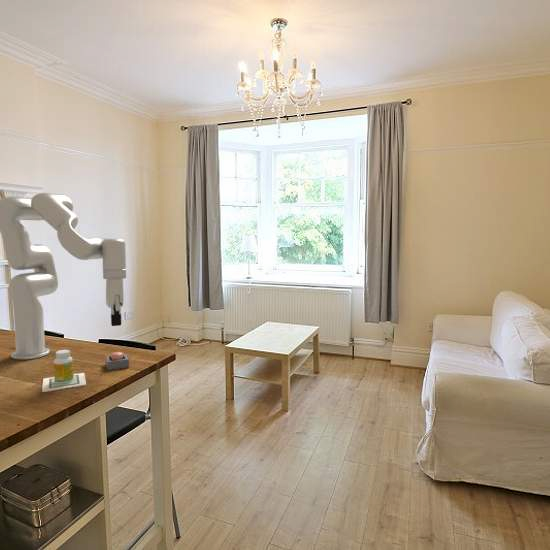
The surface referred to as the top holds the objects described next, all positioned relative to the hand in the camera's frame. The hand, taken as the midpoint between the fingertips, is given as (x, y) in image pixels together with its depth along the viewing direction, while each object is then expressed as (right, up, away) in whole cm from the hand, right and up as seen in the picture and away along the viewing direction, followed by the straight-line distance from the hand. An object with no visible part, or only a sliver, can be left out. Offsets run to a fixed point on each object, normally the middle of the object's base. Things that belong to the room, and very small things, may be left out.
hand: (116, 325), depth 141 cm
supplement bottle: (-11, -16, -14) cm, 24 cm away
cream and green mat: (-11, -17, -14) cm, 24 cm away
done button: (0, -13, +2) cm, 13 cm away
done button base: (0, -15, +2) cm, 15 cm away
